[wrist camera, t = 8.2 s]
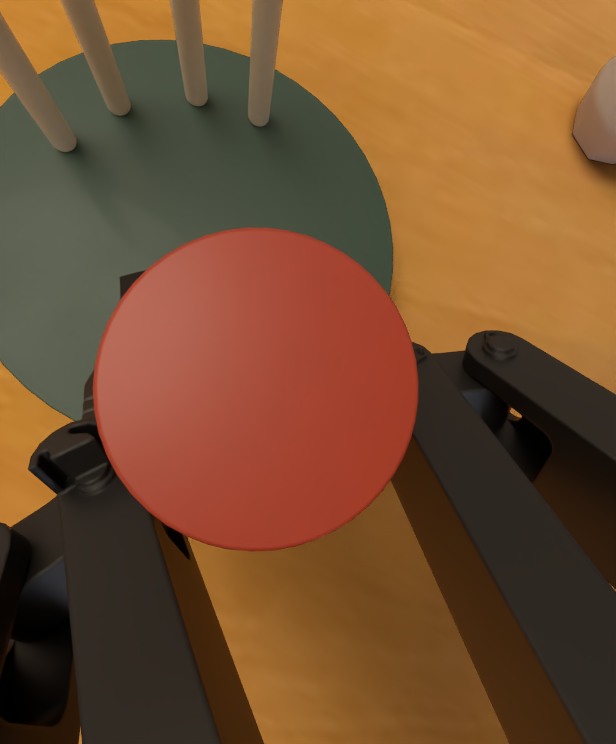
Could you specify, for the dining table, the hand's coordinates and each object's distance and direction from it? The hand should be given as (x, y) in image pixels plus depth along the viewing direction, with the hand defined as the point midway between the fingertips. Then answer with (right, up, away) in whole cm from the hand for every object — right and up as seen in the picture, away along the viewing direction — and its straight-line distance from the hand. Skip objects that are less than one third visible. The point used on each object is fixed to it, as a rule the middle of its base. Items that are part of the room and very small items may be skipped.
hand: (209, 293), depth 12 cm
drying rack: (-2, +3, +5) cm, 5 cm away
